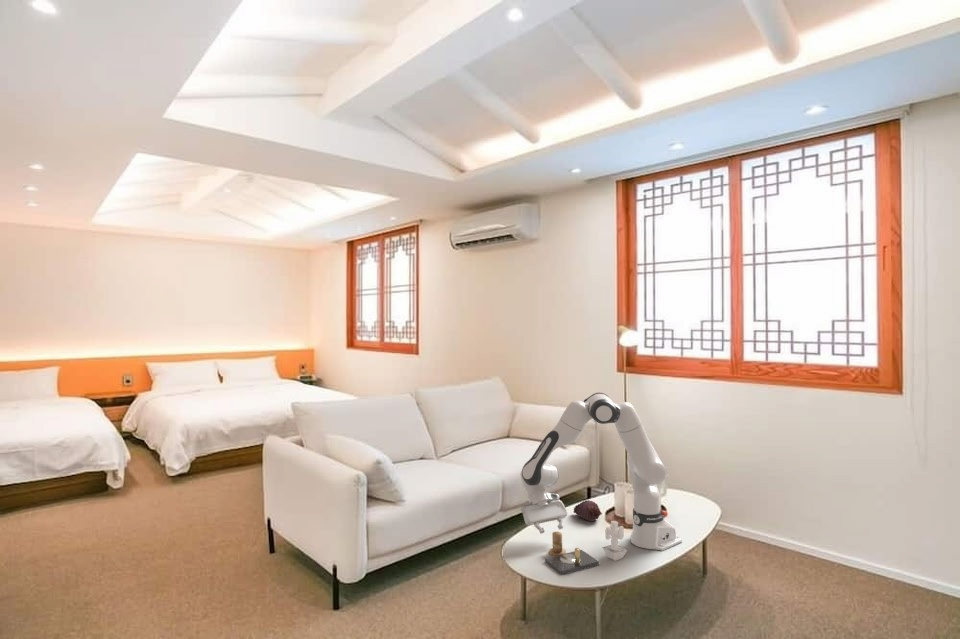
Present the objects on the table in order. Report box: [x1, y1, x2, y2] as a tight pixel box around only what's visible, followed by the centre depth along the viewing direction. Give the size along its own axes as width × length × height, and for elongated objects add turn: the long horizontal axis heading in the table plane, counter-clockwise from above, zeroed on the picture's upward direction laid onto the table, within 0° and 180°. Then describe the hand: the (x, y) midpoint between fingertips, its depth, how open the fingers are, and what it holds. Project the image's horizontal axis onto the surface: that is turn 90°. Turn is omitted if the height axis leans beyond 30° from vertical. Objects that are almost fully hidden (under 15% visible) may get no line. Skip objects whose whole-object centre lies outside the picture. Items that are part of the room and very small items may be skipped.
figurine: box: [602, 520, 628, 562], centre depth 220 cm, size 7×9×15 cm
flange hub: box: [548, 531, 567, 557], centre depth 225 cm, size 7×7×8 cm
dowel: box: [574, 547, 581, 565], centre depth 212 cm, size 2×2×6 cm
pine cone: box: [573, 499, 603, 522], centre depth 262 cm, size 18×10×10 cm
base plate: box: [544, 549, 600, 576], centre depth 215 cm, size 18×12×2 cm, turn 115°
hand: (551, 530), depth 228 cm, fingers open, 8 cm apart
